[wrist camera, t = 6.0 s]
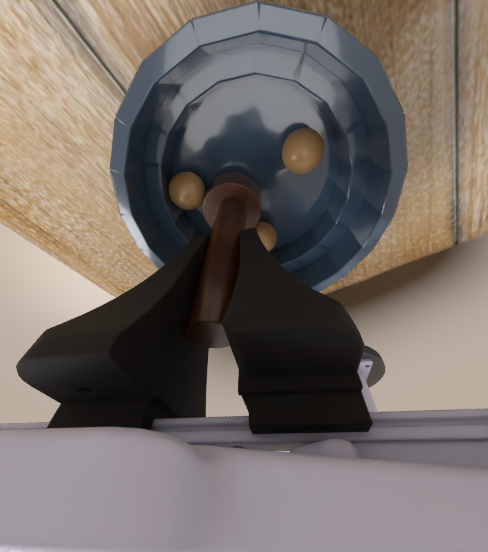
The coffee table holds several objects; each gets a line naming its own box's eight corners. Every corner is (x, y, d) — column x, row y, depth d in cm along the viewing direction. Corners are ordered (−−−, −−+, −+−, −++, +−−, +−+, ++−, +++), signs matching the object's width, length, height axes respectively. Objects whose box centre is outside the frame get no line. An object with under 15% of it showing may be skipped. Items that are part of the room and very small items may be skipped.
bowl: (347, 252, 17) (373, 296, 13) (190, 271, 18) (175, 314, 15) (386, -3, 9) (471, -60, 5) (105, 70, 10) (33, 61, 7)
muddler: (235, 231, 15) (218, 367, 8) (195, 199, 13) (139, 334, 7) (272, 199, 13) (286, 338, 7) (231, 158, 12) (200, 286, 5)
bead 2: (276, 240, 15) (279, 257, 14) (248, 244, 16) (247, 261, 14) (274, 214, 14) (277, 229, 13) (243, 218, 14) (242, 234, 13)
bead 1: (213, 209, 13) (181, 222, 13) (200, 188, 14) (169, 199, 14) (208, 181, 11) (170, 194, 11) (193, 158, 12) (158, 170, 12)
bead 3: (317, 164, 12) (327, 175, 11) (281, 170, 13) (285, 182, 11) (319, 121, 11) (330, 126, 10) (278, 129, 11) (283, 135, 10)
